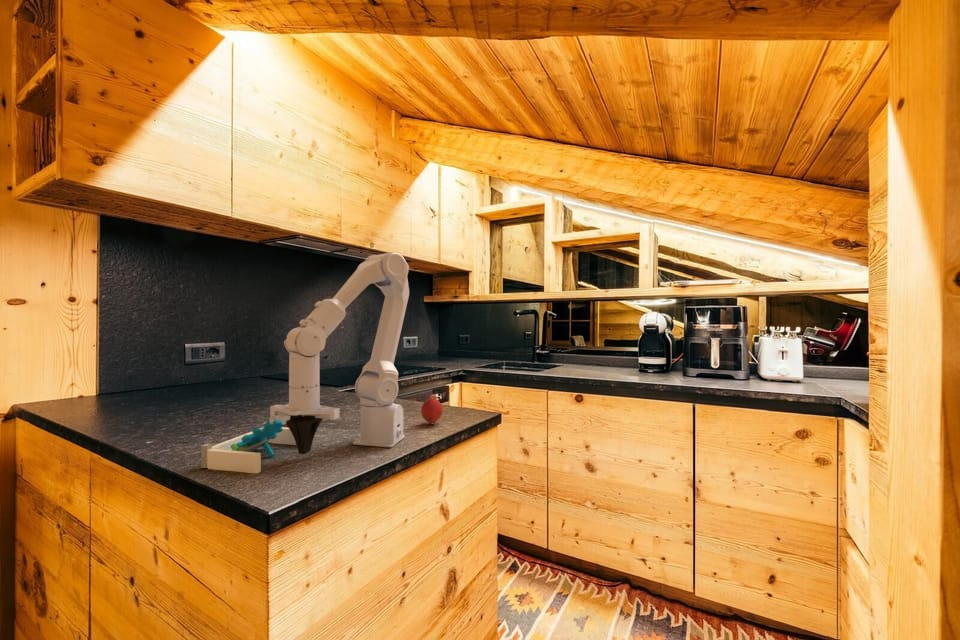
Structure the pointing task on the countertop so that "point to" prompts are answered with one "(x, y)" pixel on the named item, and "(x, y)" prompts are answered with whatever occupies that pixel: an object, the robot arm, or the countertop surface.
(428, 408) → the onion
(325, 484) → the countertop surface
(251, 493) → the countertop surface
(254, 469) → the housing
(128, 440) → the countertop surface
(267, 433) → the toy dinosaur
